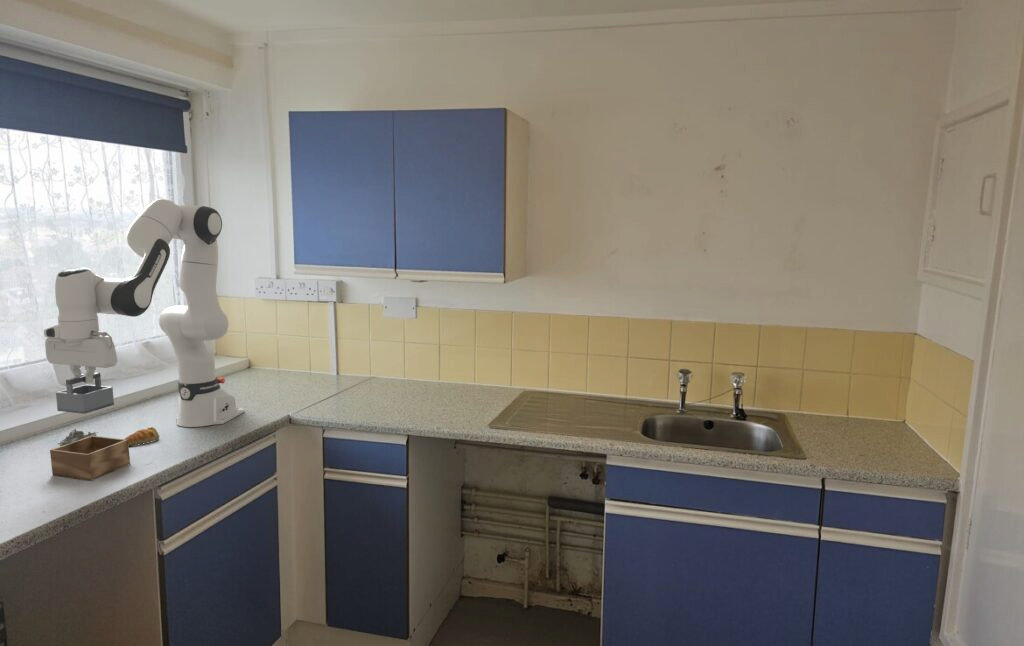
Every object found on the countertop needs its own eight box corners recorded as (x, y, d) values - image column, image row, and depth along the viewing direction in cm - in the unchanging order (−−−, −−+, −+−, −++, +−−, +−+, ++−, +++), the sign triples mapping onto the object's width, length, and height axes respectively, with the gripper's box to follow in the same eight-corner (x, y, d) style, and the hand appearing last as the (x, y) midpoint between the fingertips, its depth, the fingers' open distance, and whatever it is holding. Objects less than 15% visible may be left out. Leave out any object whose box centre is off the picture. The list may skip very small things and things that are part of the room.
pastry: (131, 448, 198) (130, 436, 197) (118, 445, 201) (117, 432, 201) (161, 440, 206) (160, 428, 205) (148, 436, 209) (147, 424, 209)
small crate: (88, 402, 183) (85, 371, 182) (114, 404, 181) (111, 373, 180) (57, 410, 175) (54, 378, 173) (84, 413, 172) (81, 381, 171)
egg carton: (76, 441, 205) (75, 428, 204) (102, 440, 205) (100, 427, 205) (55, 452, 194) (54, 439, 194) (82, 452, 195) (81, 438, 194)
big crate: (94, 459, 188) (92, 435, 187) (130, 464, 185) (128, 439, 184) (52, 475, 176) (49, 450, 175) (90, 480, 173) (87, 454, 172)
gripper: (121, 330, 175) (125, 381, 177) (60, 326, 180) (65, 376, 183) (100, 334, 169) (104, 387, 171) (38, 330, 175) (43, 381, 177)
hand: (84, 381), depth 177 cm, fingers closed on small crate
